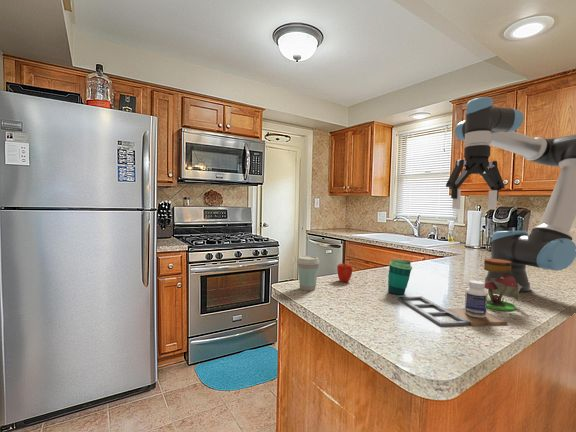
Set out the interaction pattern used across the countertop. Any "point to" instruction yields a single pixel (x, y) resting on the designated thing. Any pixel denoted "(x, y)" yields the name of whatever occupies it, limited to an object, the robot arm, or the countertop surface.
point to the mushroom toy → (501, 285)
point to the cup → (398, 276)
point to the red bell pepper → (344, 272)
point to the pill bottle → (476, 299)
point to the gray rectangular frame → (431, 314)
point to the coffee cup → (308, 272)
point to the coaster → (476, 321)
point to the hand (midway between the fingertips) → (474, 209)
